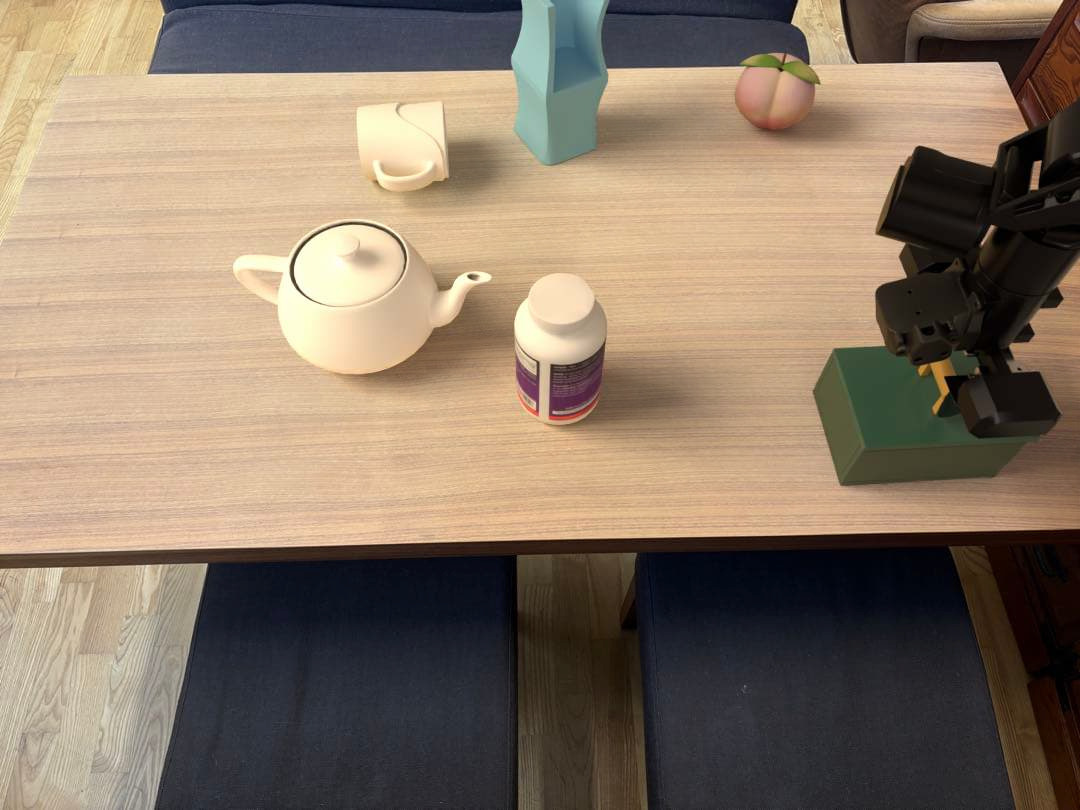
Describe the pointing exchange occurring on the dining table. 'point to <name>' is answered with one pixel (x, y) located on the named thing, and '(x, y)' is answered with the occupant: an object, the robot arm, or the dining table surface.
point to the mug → (403, 144)
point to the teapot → (356, 296)
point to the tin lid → (905, 400)
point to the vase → (559, 77)
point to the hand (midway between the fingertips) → (932, 388)
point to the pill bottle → (559, 349)
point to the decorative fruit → (775, 90)
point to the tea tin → (899, 462)
